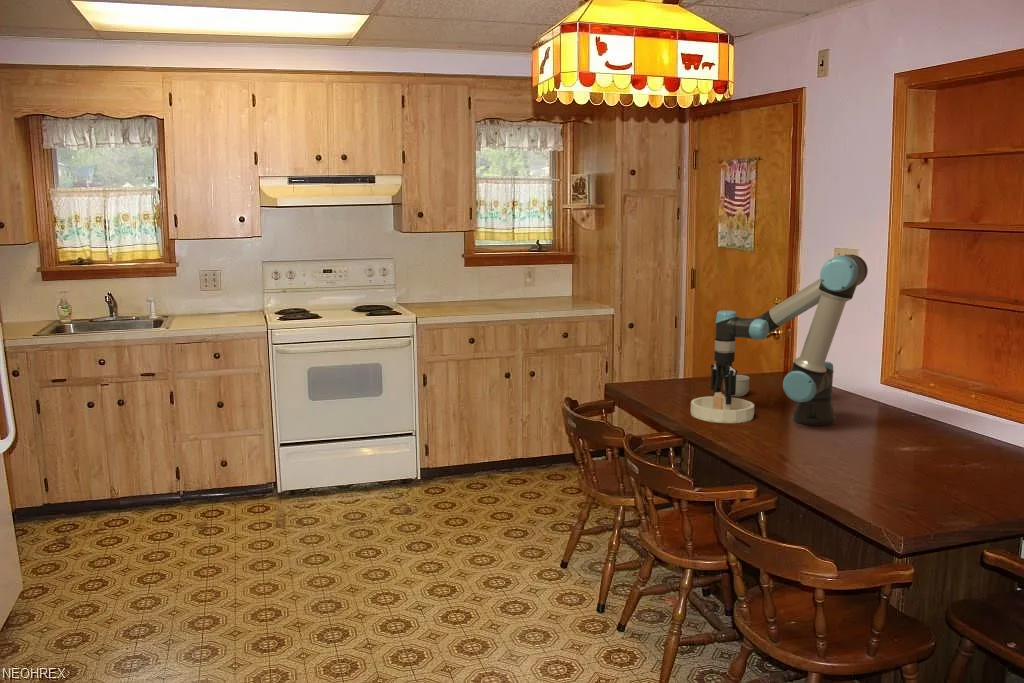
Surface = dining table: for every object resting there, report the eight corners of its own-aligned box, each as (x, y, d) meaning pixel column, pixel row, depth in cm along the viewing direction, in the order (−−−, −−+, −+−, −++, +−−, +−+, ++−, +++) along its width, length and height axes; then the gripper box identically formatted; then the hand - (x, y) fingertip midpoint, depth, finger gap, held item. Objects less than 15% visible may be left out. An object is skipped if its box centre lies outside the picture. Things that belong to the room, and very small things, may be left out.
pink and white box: (731, 412, 335) (732, 396, 334) (720, 413, 333) (721, 398, 332) (723, 409, 340) (724, 394, 339) (712, 410, 338) (713, 395, 337)
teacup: (751, 398, 366) (752, 379, 364) (725, 398, 366) (726, 379, 364) (743, 390, 379) (744, 372, 378) (718, 390, 380) (719, 372, 378)
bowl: (766, 419, 331) (766, 407, 330) (714, 425, 322) (715, 413, 321) (728, 406, 352) (728, 394, 351) (679, 411, 343) (679, 399, 342)
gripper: (747, 354, 326) (744, 415, 330) (718, 346, 342) (716, 404, 346) (731, 355, 323) (728, 417, 327) (702, 348, 339) (700, 406, 343)
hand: (722, 410), depth 337 cm, fingers closed on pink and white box, 5 cm apart
